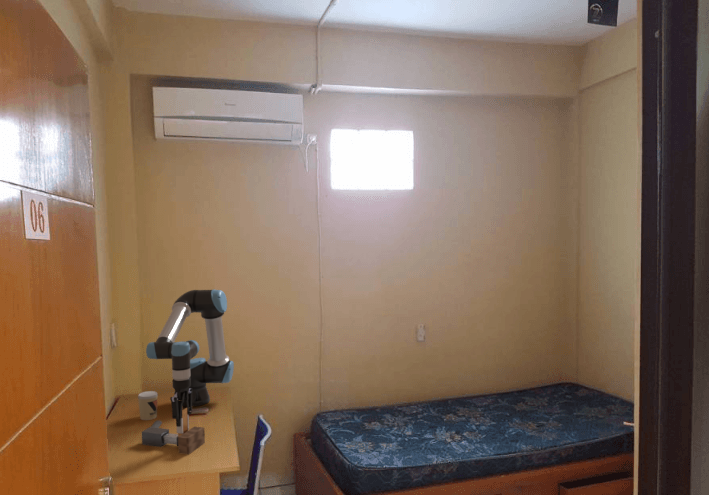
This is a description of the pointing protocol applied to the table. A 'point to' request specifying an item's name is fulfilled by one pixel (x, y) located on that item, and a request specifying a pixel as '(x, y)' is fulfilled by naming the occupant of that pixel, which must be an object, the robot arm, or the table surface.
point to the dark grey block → (153, 436)
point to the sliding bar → (173, 438)
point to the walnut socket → (191, 440)
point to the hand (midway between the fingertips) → (182, 430)
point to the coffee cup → (148, 405)
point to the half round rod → (156, 424)
